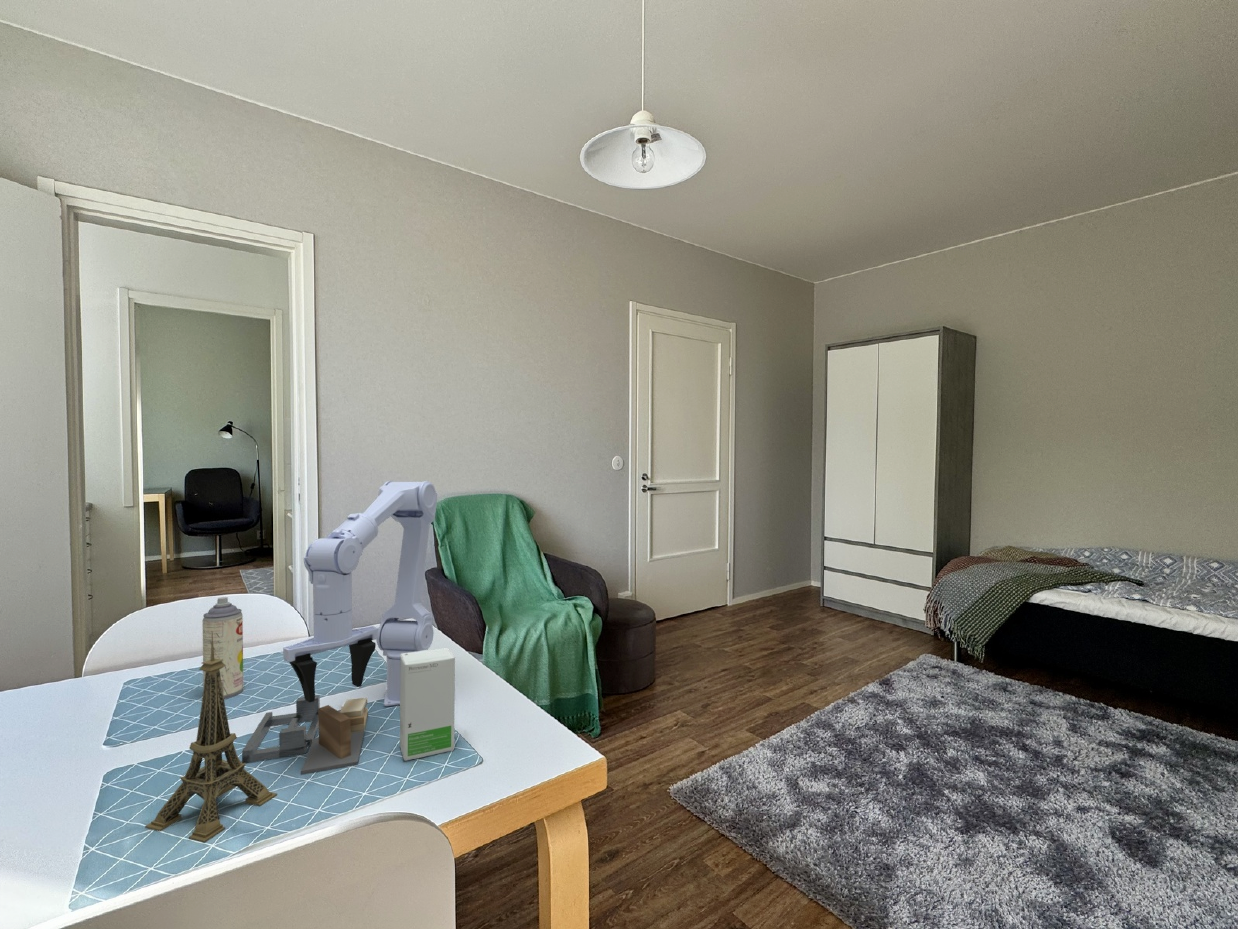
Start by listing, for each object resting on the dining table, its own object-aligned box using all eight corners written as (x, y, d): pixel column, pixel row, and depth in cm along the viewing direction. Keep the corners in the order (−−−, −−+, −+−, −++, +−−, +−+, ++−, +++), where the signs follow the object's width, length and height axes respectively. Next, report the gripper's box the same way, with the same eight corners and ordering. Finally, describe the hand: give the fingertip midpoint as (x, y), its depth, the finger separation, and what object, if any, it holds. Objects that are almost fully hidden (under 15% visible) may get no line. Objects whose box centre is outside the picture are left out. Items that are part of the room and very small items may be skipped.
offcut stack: (368, 714, 107) (367, 696, 107) (364, 731, 100) (364, 712, 100) (341, 717, 106) (341, 699, 105) (336, 735, 99) (336, 716, 99)
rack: (322, 715, 106) (322, 694, 106) (307, 753, 93) (307, 729, 93) (266, 723, 103) (266, 702, 103) (242, 763, 90) (241, 738, 90)
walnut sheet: (328, 740, 96) (328, 705, 96) (350, 755, 91) (350, 718, 91) (318, 743, 95) (318, 708, 95) (340, 759, 90) (340, 721, 90)
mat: (364, 733, 99) (364, 730, 99) (357, 764, 89) (357, 761, 89) (313, 741, 97) (313, 738, 97) (300, 774, 86) (300, 771, 86)
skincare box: (403, 762, 90) (402, 665, 89) (398, 744, 95) (397, 653, 95) (456, 750, 93) (456, 656, 93) (449, 733, 99) (448, 645, 99)
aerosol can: (245, 694, 117) (244, 598, 117) (204, 703, 112) (203, 603, 112) (241, 684, 122) (240, 592, 122) (202, 692, 118) (201, 597, 117)
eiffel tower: (222, 784, 84) (220, 618, 84) (277, 795, 81) (275, 623, 81) (145, 828, 74) (142, 639, 74) (204, 843, 71) (202, 646, 71)
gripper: (364, 598, 101) (365, 673, 101) (275, 616, 90) (276, 700, 90) (384, 604, 97) (385, 683, 97) (293, 624, 85) (294, 713, 86)
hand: (334, 692), depth 93 cm, fingers open, 7 cm apart
